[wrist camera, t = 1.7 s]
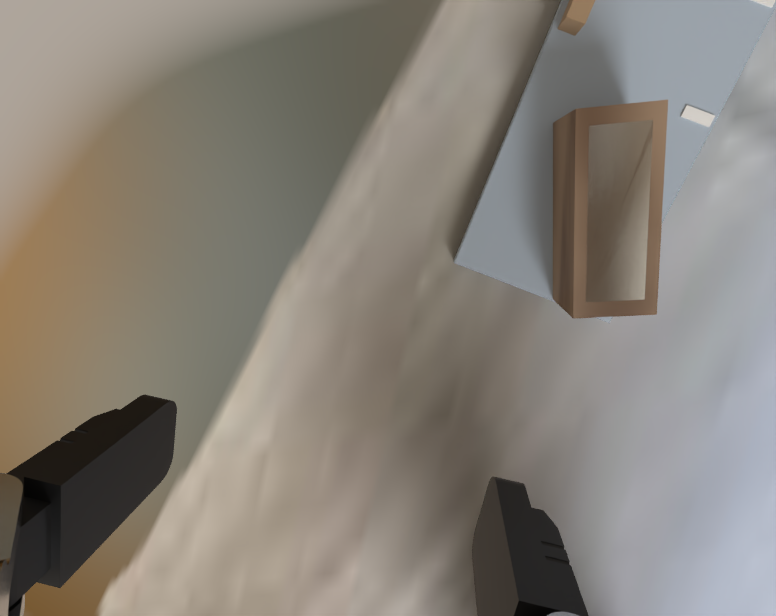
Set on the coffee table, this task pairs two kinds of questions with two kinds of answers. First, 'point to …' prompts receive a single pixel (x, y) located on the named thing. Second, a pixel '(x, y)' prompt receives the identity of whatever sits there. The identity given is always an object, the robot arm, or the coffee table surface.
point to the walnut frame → (608, 208)
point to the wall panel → (602, 88)
